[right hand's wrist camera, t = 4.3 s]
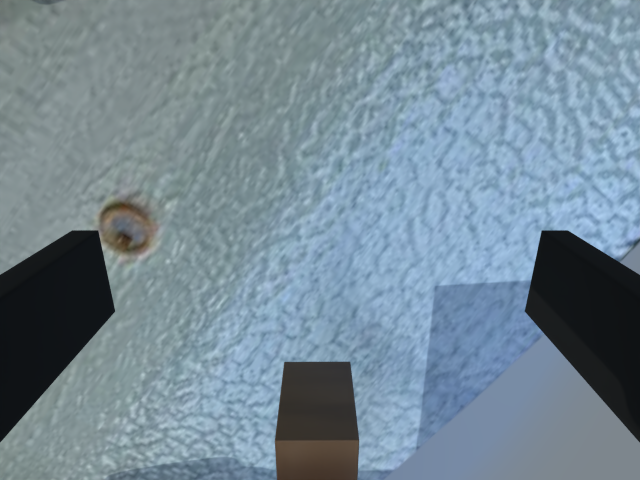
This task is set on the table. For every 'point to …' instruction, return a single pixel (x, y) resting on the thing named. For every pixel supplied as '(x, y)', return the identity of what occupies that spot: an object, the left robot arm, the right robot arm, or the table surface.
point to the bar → (317, 423)
